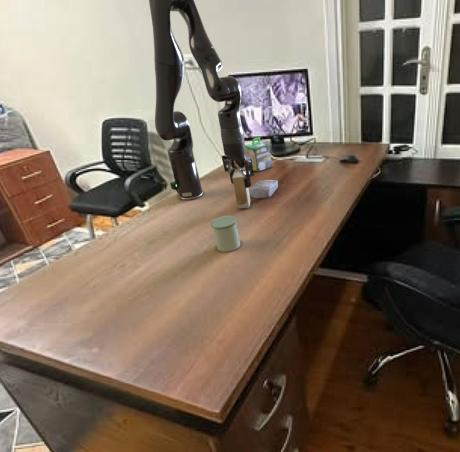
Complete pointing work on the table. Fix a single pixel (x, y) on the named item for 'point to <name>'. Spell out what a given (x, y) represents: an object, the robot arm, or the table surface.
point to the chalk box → (258, 155)
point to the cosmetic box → (241, 190)
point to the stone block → (263, 189)
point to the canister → (226, 233)
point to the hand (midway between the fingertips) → (241, 185)
